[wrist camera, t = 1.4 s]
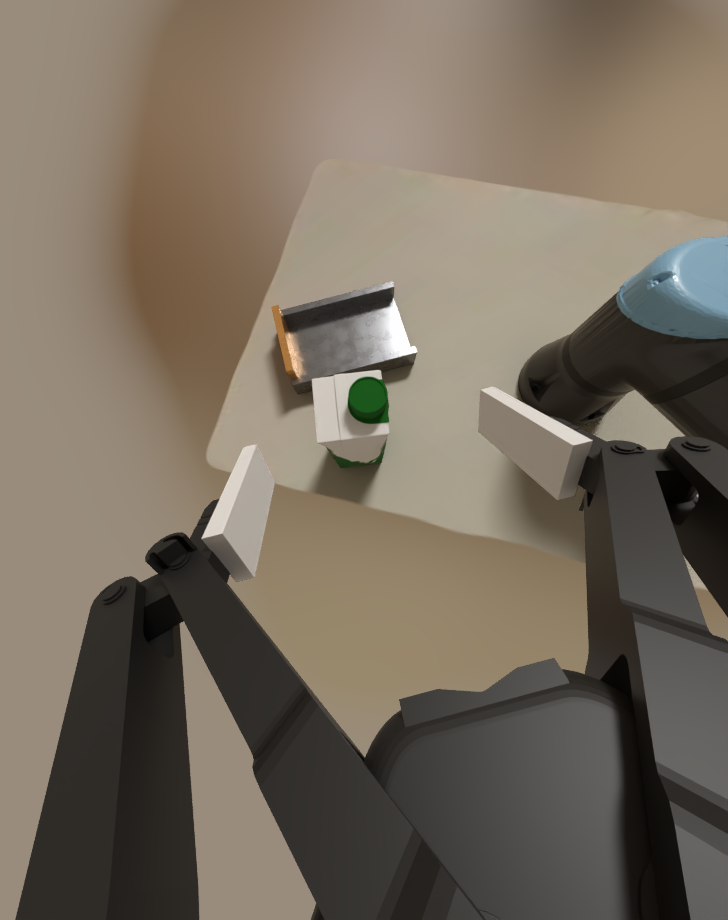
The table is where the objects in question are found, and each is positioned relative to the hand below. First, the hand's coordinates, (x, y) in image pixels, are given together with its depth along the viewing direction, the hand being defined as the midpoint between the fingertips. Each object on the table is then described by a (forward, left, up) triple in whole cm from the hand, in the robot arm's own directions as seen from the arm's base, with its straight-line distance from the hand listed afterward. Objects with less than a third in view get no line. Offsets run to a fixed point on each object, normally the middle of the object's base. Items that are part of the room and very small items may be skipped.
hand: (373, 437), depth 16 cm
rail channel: (+18, -21, -30) cm, 41 cm away
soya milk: (+6, -5, -30) cm, 31 cm away
